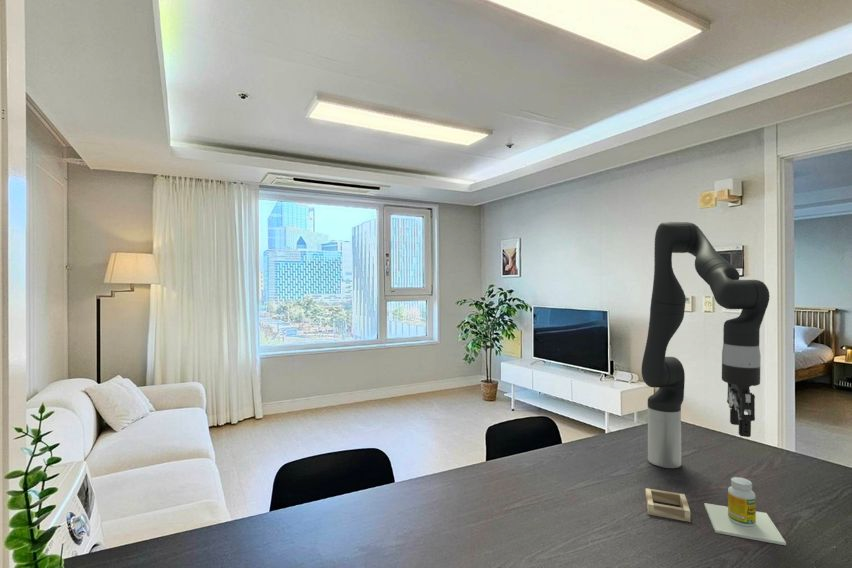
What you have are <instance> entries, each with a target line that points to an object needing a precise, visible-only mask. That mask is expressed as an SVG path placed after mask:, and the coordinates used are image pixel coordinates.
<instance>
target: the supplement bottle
mask: <svg viewBox="0 0 852 568" xmlns="http://www.w3.org/2000/svg"><path fill="white" fill-rule="evenodd" d="M752 489H753V483H752V481H751V480H749V479H747V478H744V477H740V476H739V477H738V476H734V477H731V478H730V486H729V487H728V488H727V507H728V517H729V519H730V520H731V521H732V522H734V523H736V524H738V525H741V526H746V527H751V526H754V525H755V524H756V511H757V510H756V508H757V507H756V505H757V503H756V502H757V501H756V500H757V499H756V493H755V492H754V491H753V490H752Z"/></svg>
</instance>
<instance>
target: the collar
mask: <svg viewBox="0 0 852 568" xmlns="http://www.w3.org/2000/svg"><path fill="white" fill-rule="evenodd" d="M645 502H646V508H647V514H648V515H651V516H655V517H661V518H667V519H672V520H678V521H684V522H689V523H690V522H691V509H690V506H689V504H688V500H687V498H686V494H685V493H679V492H673V491H672V492H671V491H665V490H659V489H652V488H648V487H647V488H645ZM656 502H658V503H656ZM659 502H660V503H659ZM661 503H662V504H661ZM663 503H665V504H663ZM666 504H667V505H666ZM668 504H669V505H668ZM671 504H672V505H671ZM675 505H677V506H675ZM678 506H679V507H678Z"/></svg>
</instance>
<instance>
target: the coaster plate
mask: <svg viewBox="0 0 852 568" xmlns="http://www.w3.org/2000/svg"><path fill="white" fill-rule="evenodd" d="M703 505H704V508H705V511H706V513H707V515H708V518H709V521H710V522H711V526H712V527H713V530H714V532H715V533H716V534H719V535H720V534H722V535H727V536H733V537H737V538H743V539H749V540H752V541H753V540H754V541H760V542H765V543H772V544H775V545H776V544H777V545H780V546H781V545H783V546H786V545H787V542H786V540H785V539H784V537H783V536H782V534H781V533H780V531H779V530H778V528H777V527H776V525H775V523H774V522H773V521H772V519H771V517H770V516H769V514H768V513H767V512H762V511H757V510H756V524H755V525H754V526H751V527H746V526H741V525H738V524H736V523H734V522H732V521H731V520H730V519H729V517H728V506H725V505H718V504H713V503H706V502H704V503H703Z"/></svg>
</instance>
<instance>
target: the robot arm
mask: <svg viewBox="0 0 852 568" xmlns="http://www.w3.org/2000/svg"><path fill="white" fill-rule="evenodd" d="M654 234H655V236H654V254H653V255H654V267H653V269H654V271H653V283H652V284H653V285H652V291H651V298H650V299H651V300H650V308H649V322H648V331H647V337H646V343H645V348H644V351H643V352H644V353H643V357H642V360H641V361H642V362H641V377H642V380H643V382H644V383H645V385H646V386H648V387H649V388H658V389H657V391H656V392H655V393H653V394H651V395H650V396H648V398H647V460H648V461H647V462H649V463H650V464H652V465H654V466H657V467H660V468H665V469H678V468H680V467H681V466H682V419H681V418H682V410H681V409H682V404H683V402H684V396H685V381H686V379H685V378H686V377H685V376H686V374H685V369H684V365H683V363H682V362H681V361H680V360H679V358H677V357H675V356H666V352H667V348H668V345H669V343H670V341H671V339H672V338H673V336H674V335H675V334H676V333H677V330H678V329H680V326H681V324H682V322H683V320H684V316H685V312H686V311H685V309H686V302H687V301H686V294H685V291H684V289H683V287H682V285H681V284H680V281H679V280H678V278H677V276H676V275H675V272H674V269H673V261H672V260H673V259H672V258H673V253H674V254H686V253H688V254H690V255H692V256H694V257H695V258H694V269H695V271H696V273H697V275H698V276H699V277H700V278H701V279H702V280H703V281H704V282H705V283H706V284H707V285H709V288H710V290H711V293H712V295H713V298H714V300H715V302H716V304H718V306H719V307H721V308H724V309H726V310H741V312H740V314H739V315H738V316H737V317H734V318H731V319H727V320H725V321H724V322H723V336H722V337H723V344H722V349H721V381H723V382H724V383H726V384H727V397H726V398H727V399H726V403H727V404H728V408H729V424H731V425H734V426H738V435H739V436H740V437H744V438H750V437H751V435H752V422H755V420H756V415H755V413H756V407H755V405H756V403H755V399H756V395H755V394H754V393H753V392H751V391H750V390H751V389H750V387H757V386H759V385H760V384H761V349H760V348H761V347H760V333H761V332H760V329H761V326H762V323H763V320H764V318H765V317H764V316H765V314H766V311H767V308H768V306H769V302H770V291H769V288H768V287H767V285H766V284H765V283H764V282H763V281H762V280H759V279H740V273H739V271H738V269H737V268H736V267H735V266H734V265H733V264H731V263H730V262H729V261H727V259H725V257H723V256H721V254H720V253H718V251H717V250H716V249H715V248H714V246H713V245H712V243H711V242H710V241H709V239H708V238H707V236H706V235H705V234H704V232H703V231H702V229H700V227H699V226H697V225H696V224H695V223H693V222H687V221H662V222H661V223H660V224H659V225H658V226H657V228H656V230H655V233H654ZM745 412H746V413H747V414H745Z"/></svg>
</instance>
